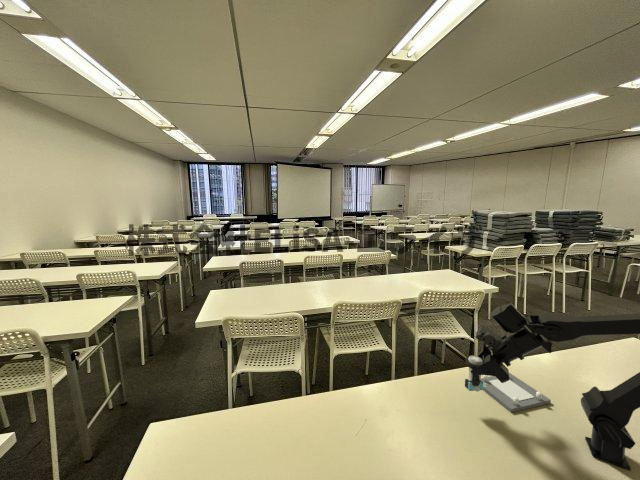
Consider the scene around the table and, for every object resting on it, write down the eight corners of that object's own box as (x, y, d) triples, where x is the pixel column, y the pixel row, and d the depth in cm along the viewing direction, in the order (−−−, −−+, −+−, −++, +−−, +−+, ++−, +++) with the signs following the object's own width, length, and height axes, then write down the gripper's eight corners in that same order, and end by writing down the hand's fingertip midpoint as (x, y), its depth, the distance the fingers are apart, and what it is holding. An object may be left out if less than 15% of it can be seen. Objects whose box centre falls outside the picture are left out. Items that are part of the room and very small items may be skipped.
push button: (479, 382, 83) (481, 353, 82) (492, 393, 78) (493, 362, 77) (460, 384, 82) (461, 354, 82) (472, 395, 77) (473, 363, 76)
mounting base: (550, 403, 82) (551, 394, 82) (510, 412, 78) (511, 403, 78) (509, 375, 96) (510, 367, 95) (474, 382, 92) (474, 374, 92)
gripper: (494, 310, 83) (455, 334, 90) (496, 334, 67) (449, 360, 75) (523, 339, 80) (480, 361, 87) (532, 371, 64) (479, 395, 71)
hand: (472, 367), depth 80 cm, fingers closed on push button, 5 cm apart
